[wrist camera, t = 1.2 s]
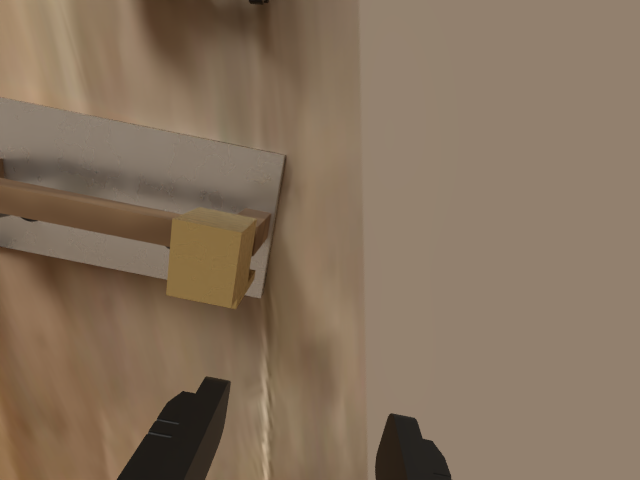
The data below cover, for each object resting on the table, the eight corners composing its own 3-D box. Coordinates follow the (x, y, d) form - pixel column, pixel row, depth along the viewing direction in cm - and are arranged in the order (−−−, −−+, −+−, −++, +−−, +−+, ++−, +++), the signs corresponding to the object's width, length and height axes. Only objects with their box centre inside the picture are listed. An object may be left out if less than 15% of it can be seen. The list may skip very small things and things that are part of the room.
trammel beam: (-24, 153, 31) (-152, 155, 23) (271, 212, 31) (248, 235, 23) (-20, 204, 32) (-141, 223, 24) (263, 261, 32) (239, 299, 24)
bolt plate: (-18, 93, 31) (-33, 90, 29) (286, 155, 31) (284, 155, 30) (-8, 239, 34) (-21, 242, 33) (263, 293, 35) (260, 298, 33)
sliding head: (232, 192, 30) (172, 218, 19) (276, 201, 31) (241, 232, 19) (224, 251, 32) (164, 308, 21) (266, 260, 32) (229, 321, 21)
